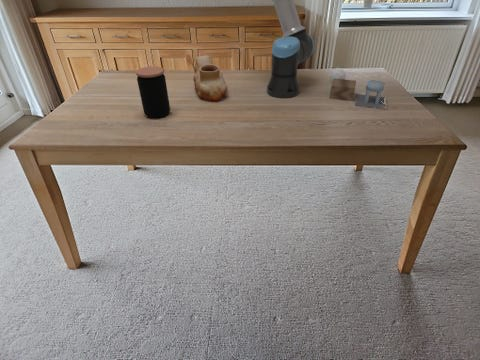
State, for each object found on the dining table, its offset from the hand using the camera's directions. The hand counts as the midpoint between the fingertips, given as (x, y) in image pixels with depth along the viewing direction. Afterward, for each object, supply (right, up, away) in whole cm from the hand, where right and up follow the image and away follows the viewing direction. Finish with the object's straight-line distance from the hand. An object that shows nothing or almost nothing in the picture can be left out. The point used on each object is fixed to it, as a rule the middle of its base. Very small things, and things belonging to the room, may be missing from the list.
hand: (367, 5), depth 120 cm
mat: (+8, -34, +16) cm, 38 cm away
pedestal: (-3, -30, +22) cm, 37 cm away
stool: (+8, -34, +16) cm, 38 cm away
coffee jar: (-85, -41, +8) cm, 95 cm away
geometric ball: (-2, -20, +35) cm, 40 cm away
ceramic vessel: (-65, -27, +27) cm, 75 cm away
